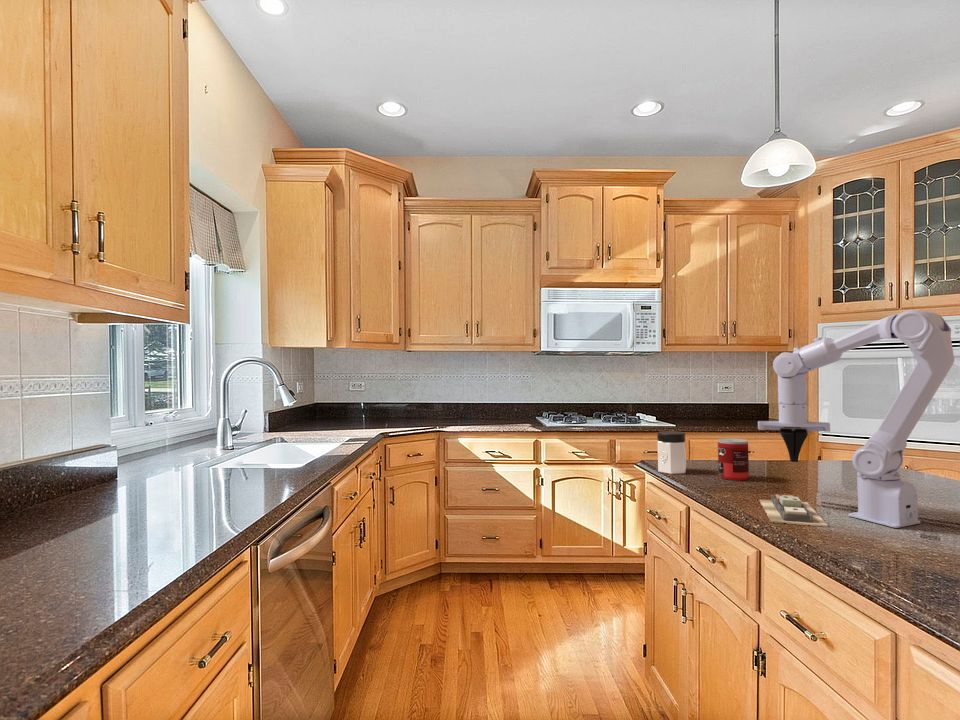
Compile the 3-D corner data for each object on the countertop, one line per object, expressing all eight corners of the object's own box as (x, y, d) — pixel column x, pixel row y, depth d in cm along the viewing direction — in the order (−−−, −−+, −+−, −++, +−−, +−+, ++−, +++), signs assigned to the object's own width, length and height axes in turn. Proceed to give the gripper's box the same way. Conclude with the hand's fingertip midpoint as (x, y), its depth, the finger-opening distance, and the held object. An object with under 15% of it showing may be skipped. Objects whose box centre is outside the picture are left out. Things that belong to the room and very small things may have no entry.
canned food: (722, 474, 155) (721, 437, 156) (751, 477, 150) (750, 439, 150) (715, 478, 149) (714, 440, 150) (745, 482, 144) (744, 442, 145)
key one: (807, 519, 107) (807, 512, 107) (787, 517, 109) (787, 510, 109) (803, 514, 111) (803, 507, 111) (784, 513, 112) (784, 506, 112)
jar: (651, 470, 162) (650, 432, 162) (667, 467, 167) (666, 430, 167) (677, 475, 155) (676, 435, 155) (692, 471, 160) (691, 432, 160)
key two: (801, 507, 113) (801, 500, 113) (782, 506, 114) (782, 499, 114) (797, 503, 116) (797, 496, 116) (779, 502, 117) (779, 495, 117)
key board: (827, 527, 105) (827, 518, 105) (771, 522, 108) (771, 514, 108) (807, 504, 121) (807, 496, 121) (759, 500, 125) (759, 493, 125)
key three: (796, 505, 118) (796, 498, 118) (778, 504, 119) (778, 497, 119) (793, 501, 121) (792, 495, 121) (775, 500, 122) (775, 494, 122)
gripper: (825, 402, 123) (826, 459, 123) (756, 402, 129) (757, 456, 129) (831, 404, 117) (833, 465, 117) (758, 404, 123) (760, 461, 123)
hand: (793, 461), depth 123 cm, fingers closed
